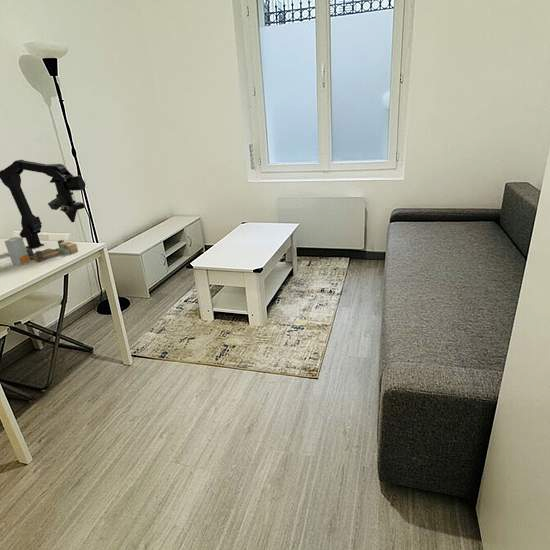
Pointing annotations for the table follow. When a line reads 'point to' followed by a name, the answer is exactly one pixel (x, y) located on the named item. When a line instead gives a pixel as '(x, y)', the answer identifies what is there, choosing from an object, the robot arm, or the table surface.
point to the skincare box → (17, 251)
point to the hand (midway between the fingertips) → (72, 222)
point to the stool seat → (43, 254)
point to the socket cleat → (64, 251)
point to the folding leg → (68, 246)
